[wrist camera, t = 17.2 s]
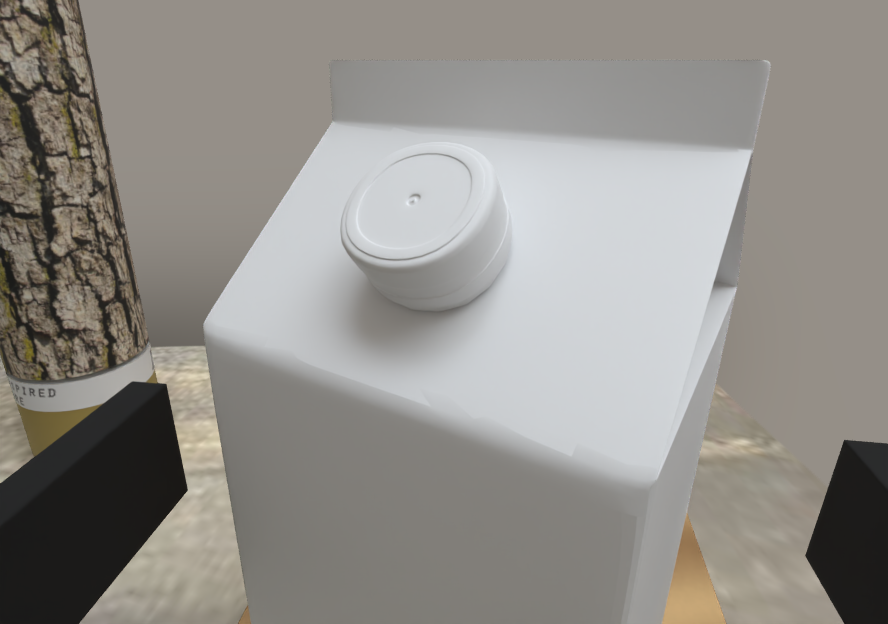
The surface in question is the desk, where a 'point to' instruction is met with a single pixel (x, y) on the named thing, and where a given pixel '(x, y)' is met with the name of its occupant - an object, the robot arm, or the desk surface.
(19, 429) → the desk surface
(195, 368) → the desk surface
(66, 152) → the paper tube
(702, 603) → the board
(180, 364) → the desk surface
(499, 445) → the milk carton
